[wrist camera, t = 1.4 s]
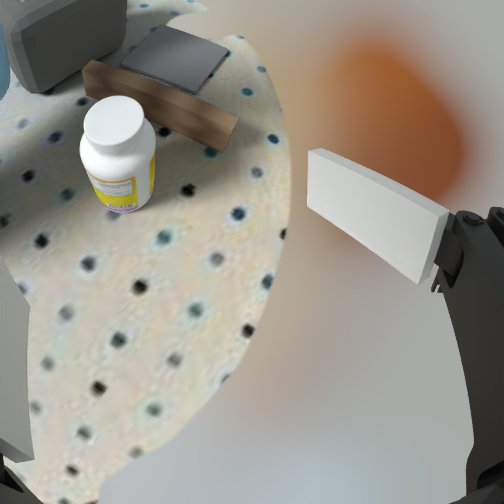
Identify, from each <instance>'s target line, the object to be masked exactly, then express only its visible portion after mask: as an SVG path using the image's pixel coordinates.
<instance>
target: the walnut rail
mask: <svg viewBox="0 0 504 504" xmlns="http://www.w3.org/2000/svg"><path fill="white" fill-rule="evenodd" d="M82 75H83V81H84V86H85V91H86V95H87V96H90V97H93V98H95V99H98V100H102V99H105V98H107V97H111V96H126V97H129V98H132V99H134V100H135V101H137V102H138V103H139V104H140V105H141V107H142V109H143V112H144V118H146V119H148V120H150V121H153V122H155V123H157V124H160V125H162V126H164V127H167V128H169V129H171V130H174V131H176V132H178V133H180V134H183V135H185V136H187V137H189V138H191V139H194V140H196V141H198V142H200V143H202V144H204V145H206V146H209V147H211V148H213V149H215V150H217V151H219V152H221V153H222V152H223V150H224V148H225V146H226V145H227V143H228V141H229V139H230V137H231V135H232V132H233V130H234V128H235V126H236V124H237V122H238V120H239V117H237V116H234V115H232V114H230V113H228V112H226V111H224V110H222V109H220V108H217V107H215V106H213V105H211V104H209V103H206V102H204V101H202V100H199V99H197V98H195V97H193V96H190V95H188V94H185V93H183V92H181V91H178V90H176V89H173V88H171V87H168V86H166V85H163V84H161V83H158V82H156V81H153V80H150V79H148V78H145V77H142V76H140V75H137V74H134V73H131V72H128V71H125V70H123V69H120V68H117V67H114V66H111V65H108V64H104V63H101V62H98V61H95V60H91V61H90V62H89V63H88V64H87V65H86V66H85V67H84V68H83V69H82Z"/></svg>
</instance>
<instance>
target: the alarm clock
mask: <svg viewBox="0 0 504 504" xmlns="http://www.w3.org/2000/svg"><path fill="white" fill-rule="evenodd" d="M126 11H127V0H0V23H1V25H2V28H3V33H4V37H5V42H6V48H7V53H8V59H9V65H10V67H11V69H12V70H13V72H14V73H15V75H16V77H17V78H18V80H19V81H20V83H21V84H22V86H23V87H24V88H25V89H26V90H27V91H28V92H30V93H37V94H39V93H42V92H44V91H46V90H48V89H50V88H51V87H53V86H54V85H56V84H57V83H59V82H60V81H62V80H63V79H65V78H67V77H68V76H70V75H71V74H73V73H75V72H76V71H78V70H80V69H81V68H83V67H85V66H86V65H87V64H88V63H89V62H90V61H91V60H97V59H99V58H101V57H103V56H105V55H107V54H109V53H110V52H112V51H114V50H116V49H117V48H118V47H119V46H121V44H122V42H123V39H124V37H125V34H126Z"/></svg>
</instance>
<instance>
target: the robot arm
mask: <svg viewBox="0 0 504 504" xmlns="http://www.w3.org/2000/svg"><path fill="white" fill-rule="evenodd" d="M9 84H10V66H9V59H8V53H7V48H6V42H5V37H4V33H3V28H2V25H1V23H0V100H1V99H2V98H3V97H4V96H5V94H6V92H7V90H8V88H9ZM307 206H308V207H309V208H311V209H313V210H314V211H315V212H317V213H318V214H320V215H322V216H323V217H324V218H326V219H327V220H329V221H330V222H332V223H333V224H335V225H336V226H338V227H339V228H340V229H342V230H343V231H345V232H346V233H348V234H349V235H350V236H352V237H353V238H355V239H356V240H357V241H359V242H361V243H362V244H363V245H364V246H366V247H367V248H369V249H370V250H371V251H373V252H374V253H376V254H377V255H378V256H380V257H381V258H382V259H384V260H385V261H386V262H388V263H389V264H390V265H392V266H393V267H394V268H396V269H397V270H399V271H400V272H401V273H402V274H404V275H405V276H406V277H408V278H409V279H410V280H412V281H413V282H414V283H415V284H417V285H419V284H420V283H421V282H423V281H424V280H425V279H427V278H428V277H429V276H430V273H431V270H432V267H433V264H434V263H435V264H436V265H438V266H439V269H438V272H437V274H436V277H435V280H434V282H433V285H432V287H431V292H434V291H435V289H436V286H437V285H439V284H440V287H439V289H438V293H443V295H444V298H445V301H446V304H447V307H448V311H449V314H450V318H451V321H452V325H453V328H454V332H455V336H456V340H457V343H458V348H459V352H460V356H461V361H462V365H463V370H464V375H465V380H466V385H467V391H468V397H469V403H470V410H471V417H472V424H473V432H474V446H473V448H472V450H471V453H470V455H469V457H468V460H467V465H466V496H465V497H463V498H461V499H460V500H458V501H456V502H452V503H450V504H504V208H501V207H491V208H490V210H489V214H488V217H487V219H483V218H482V217H481V216H479V215H477V214H475V213H472V212H469V211H459V212H457V214H456V216H455V215H453V214H451V213H450V211H449V210H447V209H446V208H444V207H442V206H441V205H439V204H437V203H435V202H433V201H431V200H430V199H428V198H426V197H424V196H422V195H421V194H418V193H417V192H415V191H413V190H411V189H409V188H407V187H405V186H403V185H401V184H399V183H397V182H395V181H393V180H391V179H389V178H387V177H385V176H383V175H381V174H379V173H377V172H375V171H373V170H371V169H368V168H366V167H364V166H362V165H360V164H358V163H355V162H353V161H351V160H349V159H346V158H344V157H342V156H339V155H337V154H335V153H332V152H330V151H327V150H325V149H323V148H319V149H314V150H309V151H308V194H307ZM29 312H30V305H29V304H28V302H27V301H26V299H25V297H24V296H23V294H22V292H21V291H20V289H19V287H18V286H17V284H16V282H15V281H14V279H13V277H12V275H11V274H10V272H9V270H8V268H7V266H6V264H5V263H4V261H3V259H2V257H1V255H0V504H43V503H42V502H41V501H40V500H39V499H38V498H37V497H36V496H35V495H34V494H33V493H32V492H31V491H30V490H29V489H28V488H27V487H26V486H25V485H24V484H23V483H22V481H21V480H20V479H19V478H18V477H17V476H16V475H15V474H14V472H13V471H12V470H11V469H9V468H8V467H7V466H5V465H4V461H3V456H5V457H7V458H8V459H10V460H12V461H13V462H15V463H19V462H25V461H30V460H35V459H34V452H33V445H32V438H31V429H30V419H29V406H28V387H27V346H28V326H29Z"/></svg>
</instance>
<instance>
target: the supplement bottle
mask: <svg viewBox="0 0 504 504" xmlns="http://www.w3.org/2000/svg"><path fill="white" fill-rule="evenodd" d="M84 131H85V132H84V134H83V136H82V139H81V142H80V156H81V160H82V162H83V165H84V167H85V170H86V172H87V174H88V177H89V179H90V181H91V184H92V186H93V188H94V190H95V193H96V195H97V197H98V199H99V200H100V202H101V203H102V204H103V205H104V206H105V207H106V208H108V209H109V210H111V211H114V212H118V213H127V212H132V211H135V210H137V209H139V208H140V207H142V206H143V205H144V204H145V203H146V202H147V201H148V200H149V198H150V197H151V195H152V193H153V189H154V183H155V149H156V137H155V132H154V129H153V127H152V125H151V124H150V122H149V121H148V120H147V119H146V118H144V112H143V109H142V107H141V105H140V104H139V103H138V102H137V101H135V100H134V99H132V98H129V97H126V96H111V97H107V98H105V99H102V100H100V101H99V102H97V103H96V104H94V105H93V106H92V107H91V108H90V110H89V111H88V112H87V114H86V116H85V119H84Z"/></svg>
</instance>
